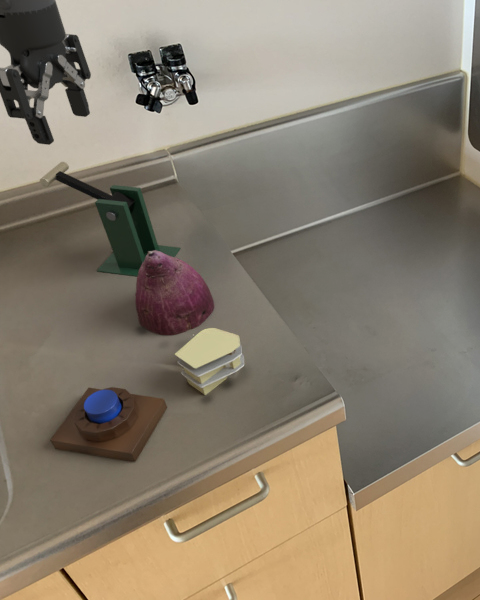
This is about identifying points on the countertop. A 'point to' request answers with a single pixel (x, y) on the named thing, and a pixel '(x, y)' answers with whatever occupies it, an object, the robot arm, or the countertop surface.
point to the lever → (82, 185)
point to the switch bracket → (128, 233)
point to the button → (102, 406)
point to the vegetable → (171, 295)
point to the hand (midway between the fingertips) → (64, 128)
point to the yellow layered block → (210, 358)
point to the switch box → (111, 427)
